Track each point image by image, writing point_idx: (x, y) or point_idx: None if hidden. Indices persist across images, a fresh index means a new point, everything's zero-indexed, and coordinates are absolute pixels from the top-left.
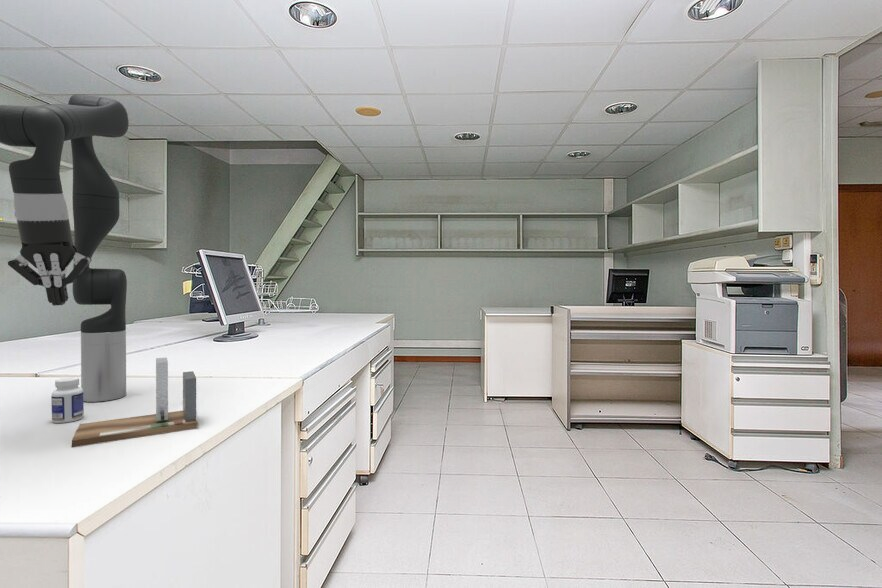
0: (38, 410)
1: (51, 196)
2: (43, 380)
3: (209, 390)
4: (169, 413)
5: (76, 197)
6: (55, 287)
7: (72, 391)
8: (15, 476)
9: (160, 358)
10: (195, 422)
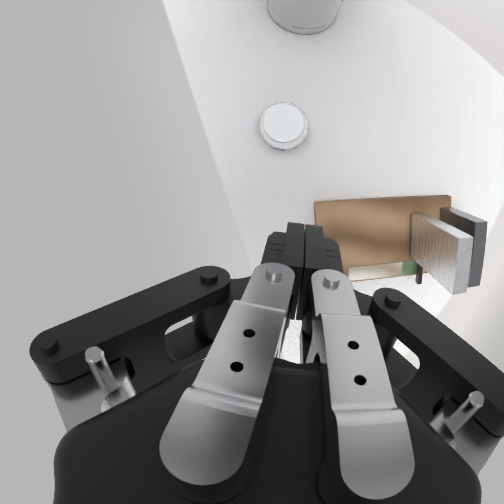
0: (220, 52)
1: None
2: None
3: (457, 51)
4: (425, 204)
5: None
6: (301, 314)
7: (296, 144)
8: (284, 345)
9: (464, 245)
10: None
